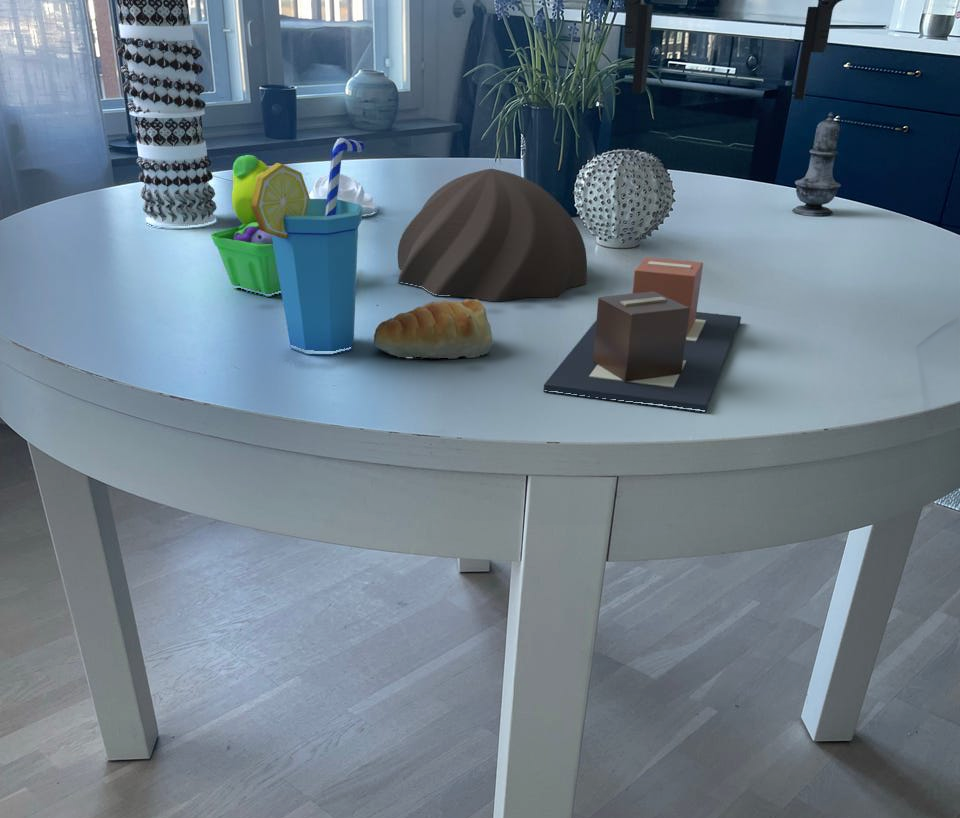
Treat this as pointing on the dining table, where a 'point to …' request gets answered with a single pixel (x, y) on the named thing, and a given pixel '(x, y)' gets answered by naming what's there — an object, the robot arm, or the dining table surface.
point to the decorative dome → (492, 241)
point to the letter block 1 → (671, 281)
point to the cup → (312, 253)
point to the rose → (345, 193)
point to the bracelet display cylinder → (166, 111)
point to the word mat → (681, 390)
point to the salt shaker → (819, 172)
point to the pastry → (437, 331)
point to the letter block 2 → (640, 335)
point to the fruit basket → (248, 235)
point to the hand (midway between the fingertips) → (717, 95)
